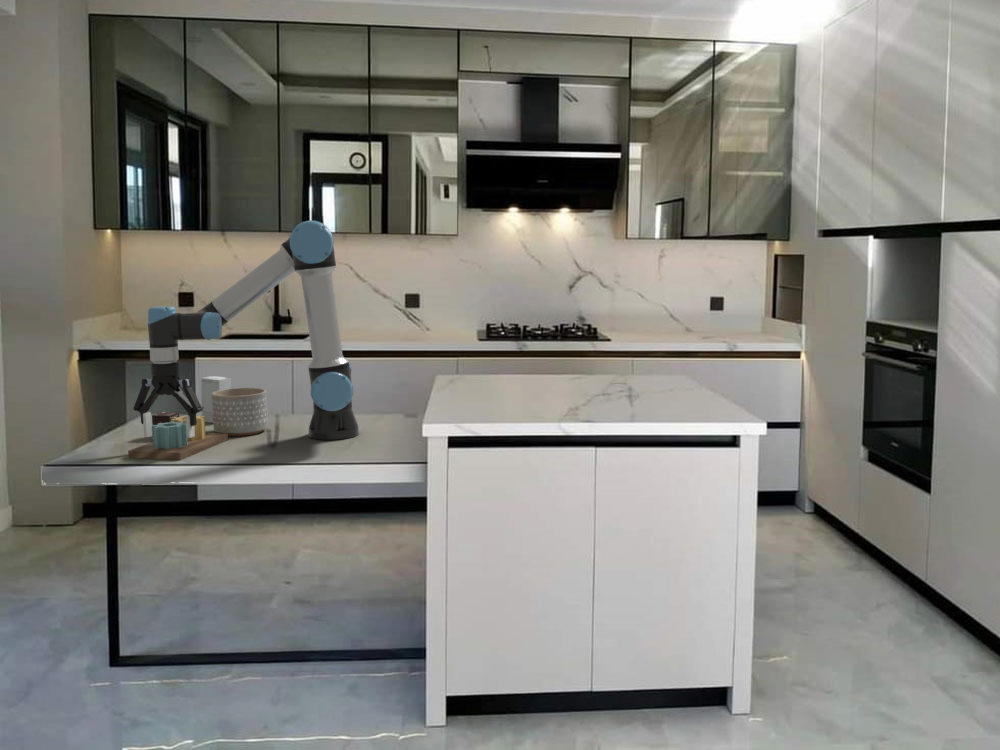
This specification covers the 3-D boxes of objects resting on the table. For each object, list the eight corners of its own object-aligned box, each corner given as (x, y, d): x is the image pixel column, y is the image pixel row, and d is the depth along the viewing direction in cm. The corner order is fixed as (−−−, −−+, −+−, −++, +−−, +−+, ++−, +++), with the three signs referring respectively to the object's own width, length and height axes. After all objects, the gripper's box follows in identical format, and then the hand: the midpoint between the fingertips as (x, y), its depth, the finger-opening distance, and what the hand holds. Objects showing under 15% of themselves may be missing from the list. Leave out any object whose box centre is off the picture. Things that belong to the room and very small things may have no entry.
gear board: (227, 440, 280) (226, 417, 279) (180, 460, 255) (179, 435, 254) (180, 438, 283) (178, 415, 282) (128, 457, 258) (126, 433, 257)
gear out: (207, 434, 279) (205, 414, 278) (202, 440, 270) (201, 420, 269) (175, 435, 277) (174, 415, 276) (170, 442, 268) (169, 421, 267)
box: (170, 439, 282) (169, 415, 281) (152, 438, 283) (151, 415, 282) (181, 435, 288) (179, 412, 287) (163, 434, 289) (162, 411, 288)
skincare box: (201, 422, 308) (198, 377, 306) (214, 418, 313) (212, 375, 311) (220, 424, 304) (217, 379, 302) (233, 420, 309) (231, 376, 307)
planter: (211, 429, 296) (208, 390, 294) (263, 424, 302) (261, 386, 301) (217, 439, 281) (214, 397, 279) (272, 434, 287) (270, 393, 286)
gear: (193, 442, 267) (191, 422, 266) (175, 449, 259) (174, 428, 258) (165, 441, 269) (163, 421, 268) (147, 448, 260) (145, 427, 260)
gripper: (212, 360, 261) (216, 434, 264) (133, 359, 267) (138, 431, 270) (198, 364, 254) (202, 440, 257) (117, 362, 259) (122, 437, 262)
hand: (169, 436), depth 263 cm, fingers open, 13 cm apart
